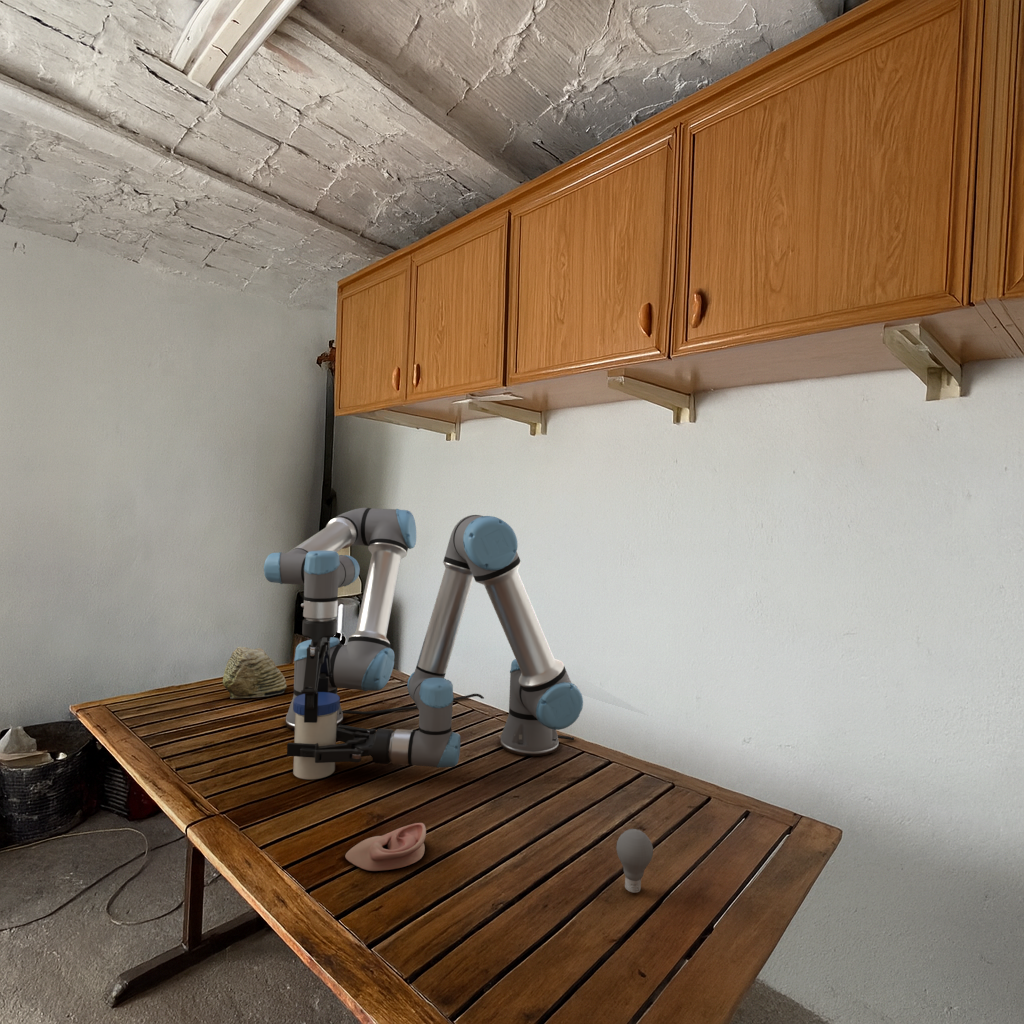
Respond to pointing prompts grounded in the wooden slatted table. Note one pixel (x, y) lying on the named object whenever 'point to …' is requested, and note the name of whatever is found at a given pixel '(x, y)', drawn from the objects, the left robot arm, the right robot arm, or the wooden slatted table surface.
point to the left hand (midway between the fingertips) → (316, 713)
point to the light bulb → (634, 857)
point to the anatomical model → (390, 849)
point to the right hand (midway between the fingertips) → (296, 740)
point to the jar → (314, 734)
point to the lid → (325, 703)
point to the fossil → (252, 674)
